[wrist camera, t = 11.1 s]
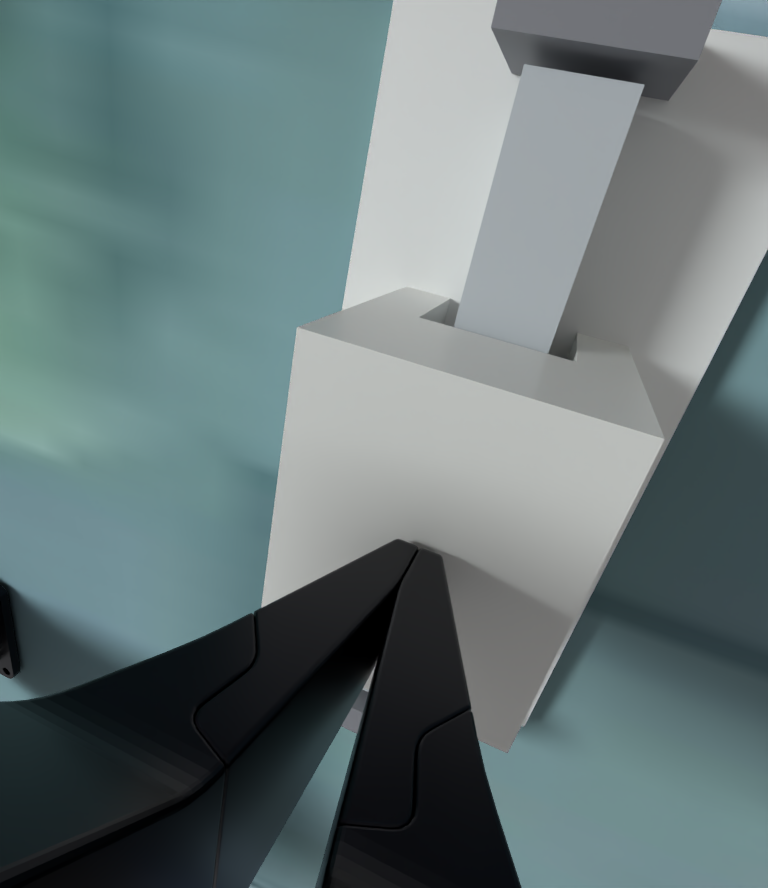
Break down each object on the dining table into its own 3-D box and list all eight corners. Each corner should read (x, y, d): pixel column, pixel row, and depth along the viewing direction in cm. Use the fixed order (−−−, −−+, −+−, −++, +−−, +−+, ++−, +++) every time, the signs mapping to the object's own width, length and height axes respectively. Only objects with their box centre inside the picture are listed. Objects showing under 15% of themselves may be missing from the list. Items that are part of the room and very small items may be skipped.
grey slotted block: (534, 574, 15) (512, 755, 10) (358, 508, 17) (257, 639, 11) (632, 347, 12) (672, 441, 7) (406, 286, 13) (297, 327, 8)
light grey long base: (525, 712, 18) (514, 814, 15) (297, 612, 20) (245, 684, 17) (852, 61, 10) (982, -16, 7) (404, -6, 12) (340, -91, 8)
